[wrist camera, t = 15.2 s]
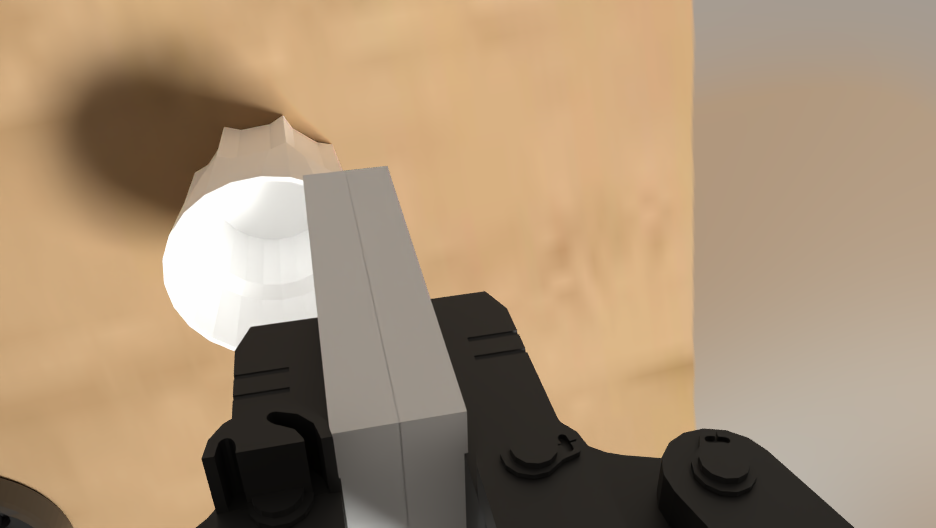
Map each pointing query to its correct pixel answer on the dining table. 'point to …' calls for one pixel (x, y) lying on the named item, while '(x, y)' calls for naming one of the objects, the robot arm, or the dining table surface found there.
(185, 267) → the cup
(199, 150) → the dining table surface
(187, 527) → the dining table surface
